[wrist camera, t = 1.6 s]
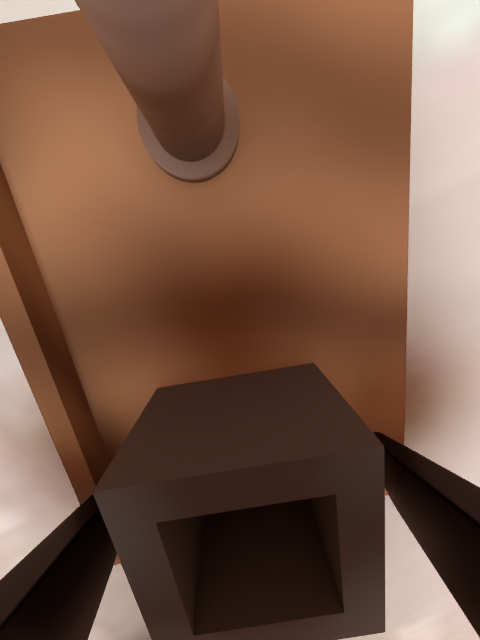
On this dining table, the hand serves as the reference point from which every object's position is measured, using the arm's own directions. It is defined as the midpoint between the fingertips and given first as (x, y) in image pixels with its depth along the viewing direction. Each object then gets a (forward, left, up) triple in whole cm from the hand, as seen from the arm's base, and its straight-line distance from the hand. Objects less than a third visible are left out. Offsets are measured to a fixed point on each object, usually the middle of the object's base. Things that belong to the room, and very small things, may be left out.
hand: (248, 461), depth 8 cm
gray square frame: (0, 0, -1) cm, 1 cm away
